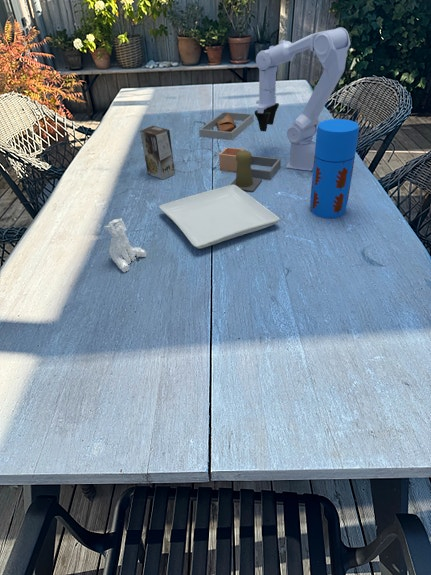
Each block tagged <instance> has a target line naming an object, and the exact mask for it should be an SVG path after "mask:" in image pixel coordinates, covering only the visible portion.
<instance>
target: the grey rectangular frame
mask: <svg viewBox="0 0 431 575" xmlns="http://www.w3.org/2000/svg"><path fill="white" fill-rule="evenodd" d="M281 160H282V159H281V158H277V157H269V156H268V157H267V156H261V155H259V156H258V155H252V158H251V161H250V165H251V166H252V165H256V166H265V167H270V168H269V170H268V169H261V168H254V167H251V172H252V178H255V179H262V180H266V181H267V180H269V181H270V180H272V178H274V176H275V174H277V172H278V171H279V169H280V168H281V167H282V166H281V164H282V161H281Z"/></svg>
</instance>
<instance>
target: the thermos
mask: <svg viewBox="0 0 431 575" xmlns="http://www.w3.org/2000/svg"><path fill="white" fill-rule="evenodd" d="M359 131H360V125H359V123H357V122H356V121H353V120H350V119H345V118H332V119H326V120H322V121H319V123H318V126H317V132H316V134H315V135H316V137H315V142H316V144H315V155H314V166H313V170H312V179H311V188H310V200H309V201H310V204H309V206H310V208H309V210H310V212H311V213H312V214H313V215H315V216H316V217H319V218H323V219H335V218H339V217H342V216H343V215H345V213H346V209H347V208H348V207H347V206H348V201H349V196H350V189H351V184H352V177H353V171H354V164H355V158H356V153H357V152H356V151H357V146H358V139H359Z"/></svg>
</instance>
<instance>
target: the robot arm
mask: <svg viewBox="0 0 431 575" xmlns="http://www.w3.org/2000/svg"><path fill="white" fill-rule="evenodd" d="M350 39H351V38H350V36H349V33H348V30H347V29H346V28H344V27H340V26H339V27H337V28H334V29H329V30H328V29H327V30H323V31H322V30H321V31H319V32H314V33H311V34H309V35H307V36H305V37H303V38H301V39H298V40H297V41H294V42H291V41H289V40H285V39H283V40H280V41H279V44H276V45H271V46H269V47H268V49H265V50H260V51H259V52H258V53H257V55H256V57H255V64H256V67H257V68H258V69H259V70H258V71H259V77H258V82H259V84H258V88H259V89H258V90H259V91H258V92H259V93H258V95H259V96H258V97H259V98H258V100H256V101H255V104H258V105H257V109H255V111H254V116H255V118H256V120H257V122H258V128H259V131H260V132H267V129H268V126H269V125H273V124H274V122H275V117H276V113H277V110H278V108H279V106H280V103H279V102H277V96H276V89H277V88H276V87H277V86H276V82H277V71H278V66H280V65H282V64H285V63H288V62H290V61H292V60H293V59H294V57H295V56H296V54H298V53H301V52H305V51H306V50H310V51H311V52H314V54H315V56H317V58H318V61H319V63H320V64H321V66H322V68H323V72H322V74H321V76H320V78H319V80H318V82H317V83H316V86H315V87H314V89H313V92H312V94H310V97H309V99H308V101H307V103H306V104H305V107H304V108H303V111H302V112H301V113H300V115H299V116H298V117H296V119H295V120H293V123H292V124H290V125H289V126H288V128H287V130H286V136H287V139H288V141H289V143H290V151H289V152H290V153H289V161H288V163H287V165H286V166H285V168H286V169H291V170H292V169H293V170H300V171H310V172H311V171H312V172H313V166H314V155H315V144H316V141H313V139H314V136H315V135H316V134H317V128H318V124H319V123H320V120H319V116H320V115H321V113H322V111H323V110H324V107H325V106H326V104H327V102H328V100H329V99H330V97H331V95H332V93H333V91H334V90H335V88H336V86H337V84H338V82H339V81H340V79H341V78H342V76H343V74H344V72H345V70H346V64H347V55H348V50H349V48H350V46H351V44H352V43H351V40H350Z"/></svg>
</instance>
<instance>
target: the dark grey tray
mask: <svg viewBox="0 0 431 575" xmlns="http://www.w3.org/2000/svg"><path fill="white" fill-rule="evenodd" d="M228 114H230V115H231V117H232V118H233V120H234V121H242V122H241V123H240V124H238V126H237V125H236V128H235V129H234V130H233V131H232V132H225V131H219V130H214V129H213V128H215V127H217V125H216V123H217V122H218V121H220V120H221V119H223V118H224V117H225V116H226V115H228ZM254 116H255V113H242V112H229V111H222V112H220V113H219V114H218V115H216V116H215V117H214V118H212V119H211V120H210V121H208V122H207V123H206V124H204V125H203V126H202V127H200V128H199V129H198V135H199V137H201V138H209V139H210V138H211V139H218V140H219V139H220V140H229V141H233V140H234V139H235V138H236V137H237V136H238V135H239V134H240V133H242V132H243V131H244V130H245V129H247V127H249V126H250V125H251V124H252V123H253V122H255V121H254Z"/></svg>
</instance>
